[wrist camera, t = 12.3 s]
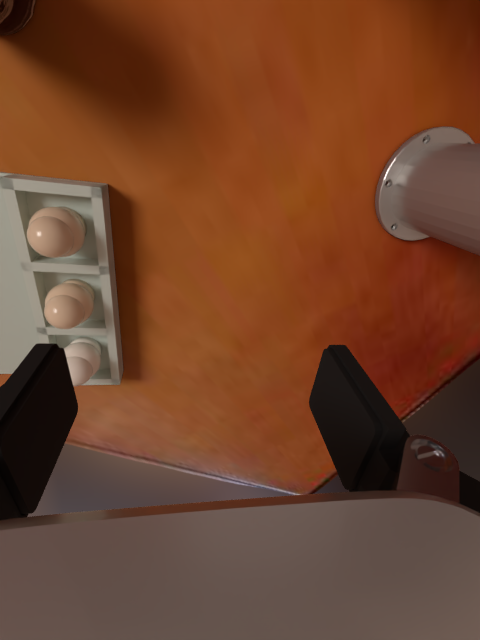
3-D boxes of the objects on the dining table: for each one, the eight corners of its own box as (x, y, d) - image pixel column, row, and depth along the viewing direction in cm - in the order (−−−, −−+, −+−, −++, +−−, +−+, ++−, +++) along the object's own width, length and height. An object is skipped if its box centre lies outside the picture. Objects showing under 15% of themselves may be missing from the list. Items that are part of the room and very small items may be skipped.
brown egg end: (88, 204, 31) (69, 217, 26) (93, 249, 34) (76, 270, 28) (36, 199, 30) (6, 212, 25) (45, 246, 33) (19, 267, 27)
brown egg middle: (96, 276, 35) (81, 300, 30) (100, 312, 38) (87, 340, 32) (51, 274, 34) (27, 298, 29) (58, 311, 37) (37, 339, 31)
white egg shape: (104, 334, 39) (90, 364, 34) (106, 364, 42) (94, 396, 36) (63, 333, 38) (43, 363, 33) (68, 363, 41) (50, 396, 35)
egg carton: (-90, 162, 28) (-117, 164, 26) (107, 183, 32) (101, 187, 29) (-13, 371, 40) (-26, 386, 38) (123, 370, 44) (120, 384, 41)
